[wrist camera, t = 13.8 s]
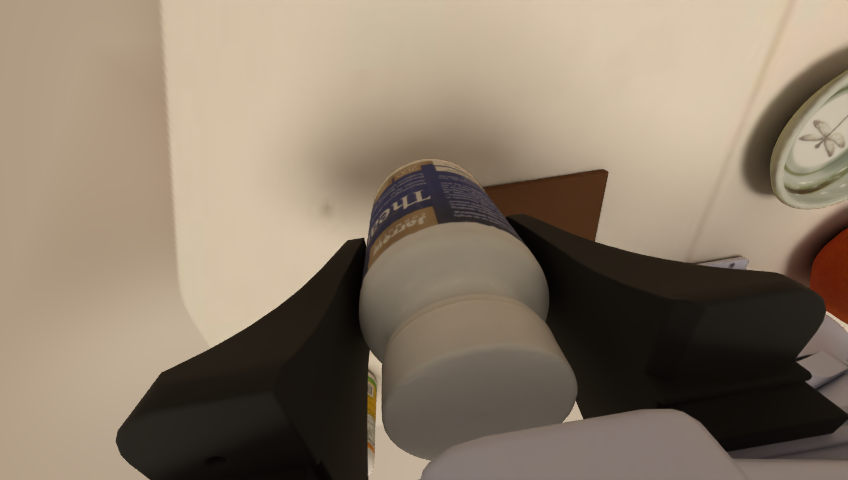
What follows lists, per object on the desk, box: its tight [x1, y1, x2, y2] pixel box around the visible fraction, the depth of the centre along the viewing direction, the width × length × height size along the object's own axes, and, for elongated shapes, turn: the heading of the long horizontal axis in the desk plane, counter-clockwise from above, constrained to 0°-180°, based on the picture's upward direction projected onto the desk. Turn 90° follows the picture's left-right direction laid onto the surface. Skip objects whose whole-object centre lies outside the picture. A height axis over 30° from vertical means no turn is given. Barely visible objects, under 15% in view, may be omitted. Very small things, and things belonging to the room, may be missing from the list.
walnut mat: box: [483, 170, 608, 242], centre depth 22 cm, size 9×9×1 cm
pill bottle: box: [359, 159, 578, 461], centre depth 10 cm, size 5×5×10 cm
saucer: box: [770, 70, 848, 209], centre depth 19 cm, size 10×10×2 cm
